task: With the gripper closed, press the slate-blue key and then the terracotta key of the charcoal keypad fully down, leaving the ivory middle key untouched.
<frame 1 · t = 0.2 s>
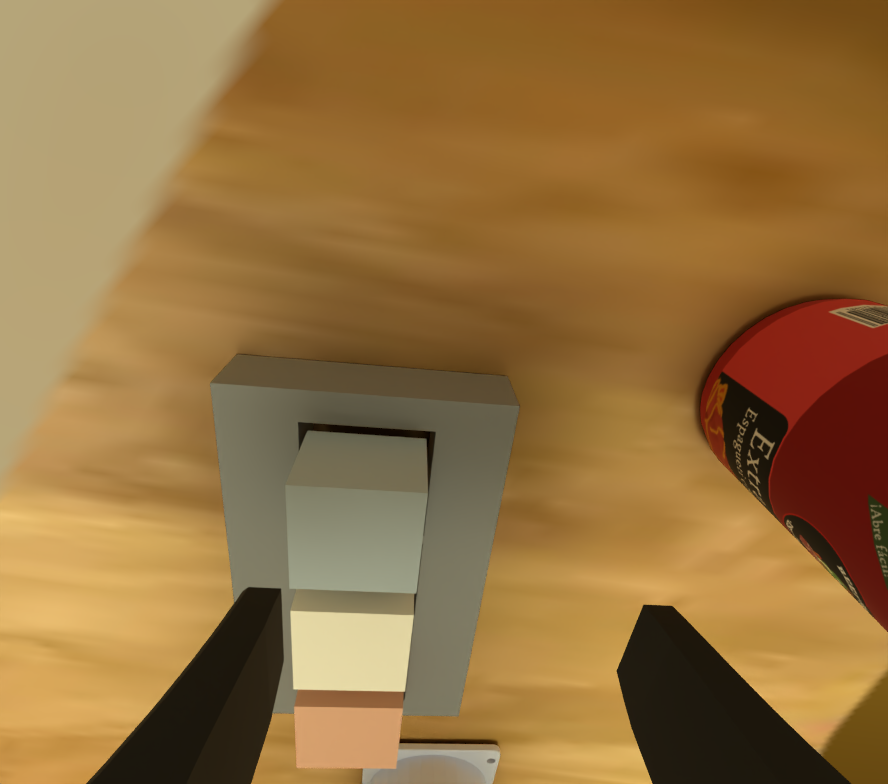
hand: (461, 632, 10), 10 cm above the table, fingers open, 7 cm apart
key ivory: (356, 616, 18), point 4 cm above the table, slide at 0.0 cm
key terracotta: (352, 700, 20), point 4 cm above the table, slide at 0.0 cm
keypad base: (366, 540, 22), on the table
key slate: (360, 510, 16), point 4 cm above the table, slide at 0.0 cm
canned food: (788, 385, 19), on the table
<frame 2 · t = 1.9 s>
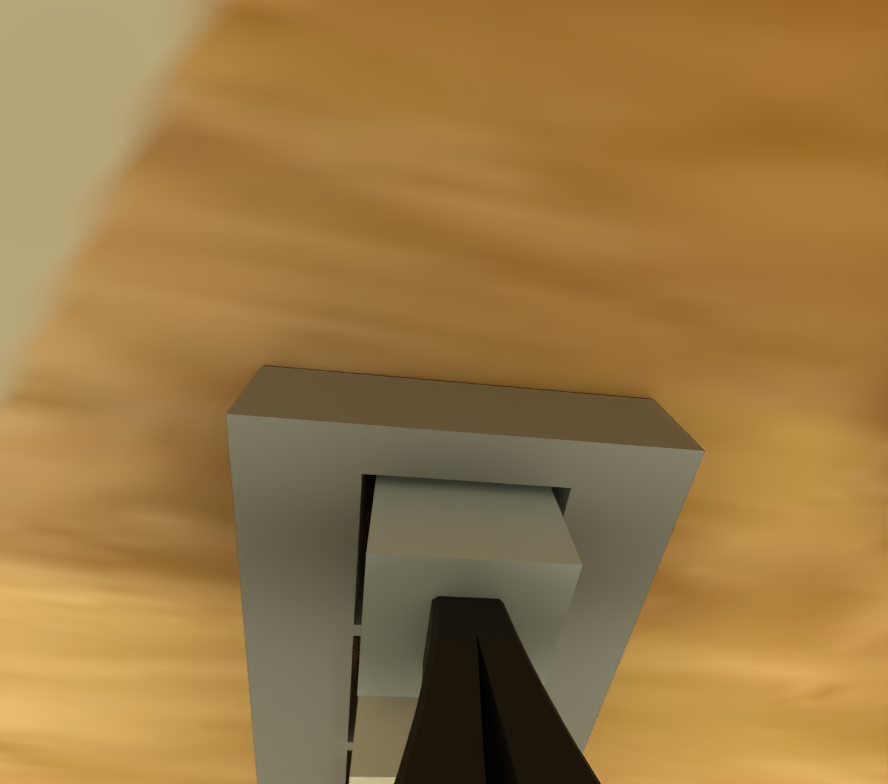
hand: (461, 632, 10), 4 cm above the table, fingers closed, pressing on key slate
key ivory: (434, 754, 12), point 4 cm above the table, slide at 0.0 cm
keypad base: (430, 619, 16), on the table
key slate: (456, 576, 11), point 3 cm above the table, slide at 1.0 cm, touching gripper
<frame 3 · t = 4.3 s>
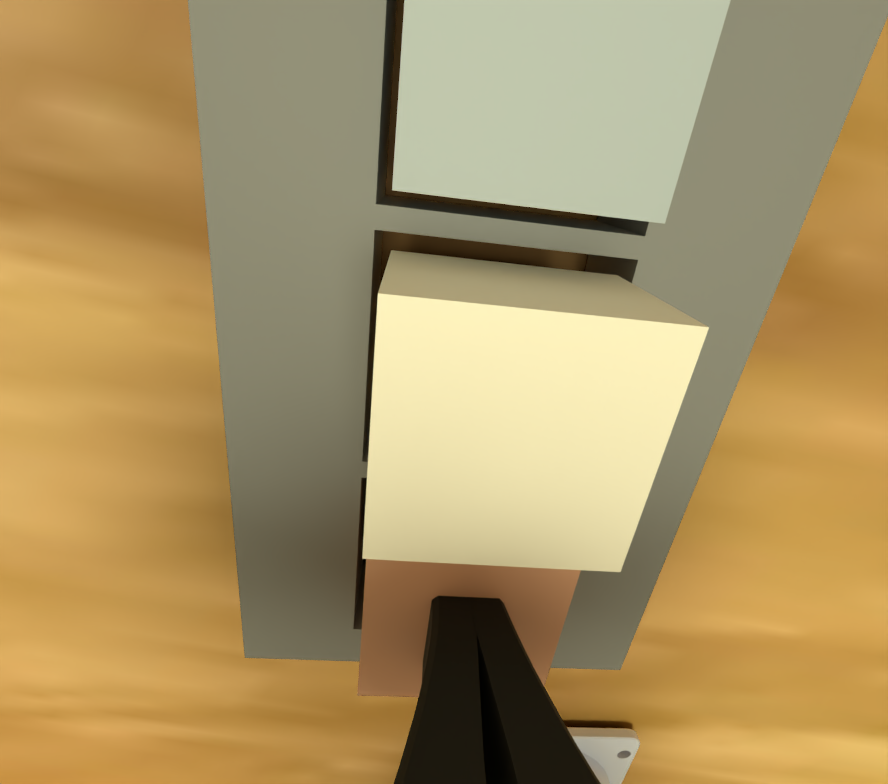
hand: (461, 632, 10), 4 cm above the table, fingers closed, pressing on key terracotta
key ivory: (501, 404, 8), point 4 cm above the table, slide at 0.0 cm
key terracotta: (457, 576, 11), point 3 cm above the table, slide at 1.2 cm, touching gripper
keypad base: (475, 328, 11), on the table
key slate: (536, 61, 7), point 2 cm above the table, slide at 1.8 cm
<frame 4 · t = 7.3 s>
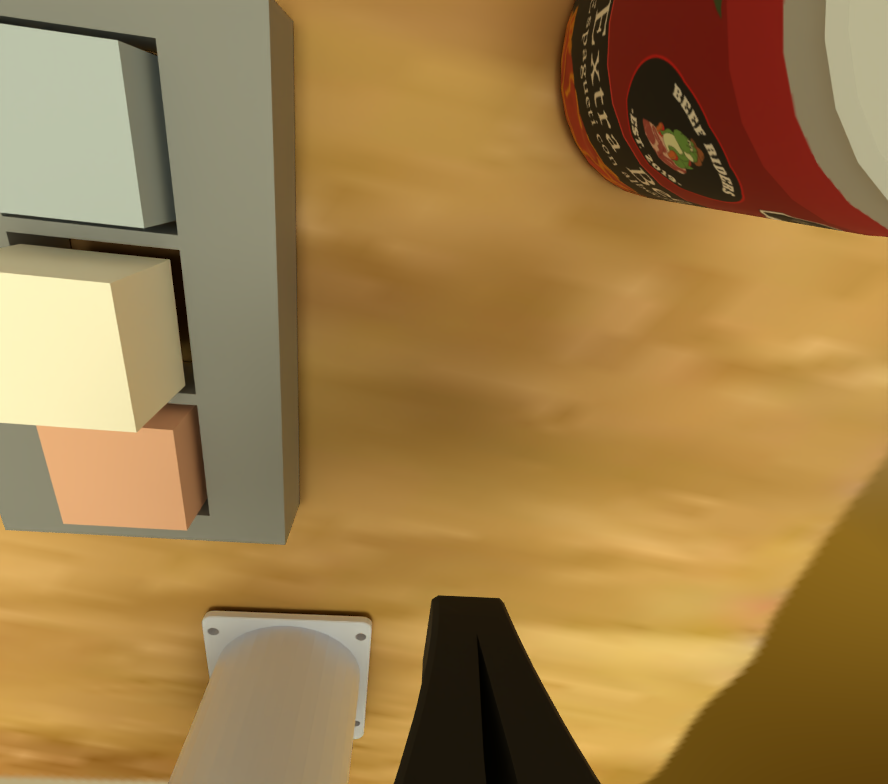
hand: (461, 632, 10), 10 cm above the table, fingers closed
key ivory: (77, 335, 13), point 4 cm above the table, slide at 0.0 cm
key terracotta: (139, 453, 17), point 2 cm above the table, slide at 1.9 cm
keypad base: (150, 298, 17), on the table
key slate: (82, 133, 13), point 2 cm above the table, slide at 1.8 cm
canned food: (679, 62, 15), on the table
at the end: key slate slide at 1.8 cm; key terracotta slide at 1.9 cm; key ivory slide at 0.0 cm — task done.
